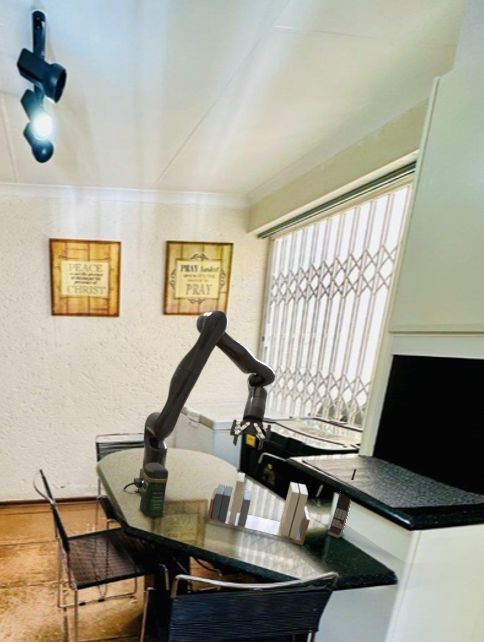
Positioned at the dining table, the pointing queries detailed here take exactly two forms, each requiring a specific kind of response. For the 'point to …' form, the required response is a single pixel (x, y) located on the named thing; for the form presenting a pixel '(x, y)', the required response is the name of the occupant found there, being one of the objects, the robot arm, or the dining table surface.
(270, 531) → the book shelf
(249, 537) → the dining table surface
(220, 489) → the grey books
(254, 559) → the dining table surface
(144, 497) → the coffee jar
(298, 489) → the white books
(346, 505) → the vintage mobile phone
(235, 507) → the white book
